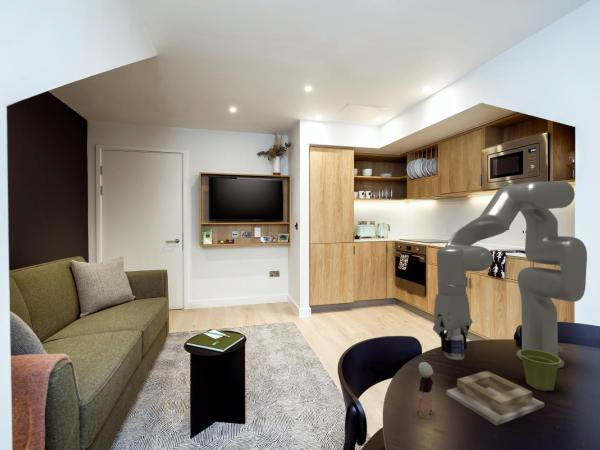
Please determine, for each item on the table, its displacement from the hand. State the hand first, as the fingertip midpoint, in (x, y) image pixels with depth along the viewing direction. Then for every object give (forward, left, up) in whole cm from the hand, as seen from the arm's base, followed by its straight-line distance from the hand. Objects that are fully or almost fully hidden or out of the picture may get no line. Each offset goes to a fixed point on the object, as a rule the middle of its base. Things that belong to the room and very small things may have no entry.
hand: (454, 349), depth 88 cm
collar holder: (-1, +11, -9) cm, 15 cm away
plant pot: (-20, +11, -10) cm, 25 cm away
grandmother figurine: (+20, +8, -10) cm, 24 cm away
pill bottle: (0, 0, -2) cm, 2 cm away
